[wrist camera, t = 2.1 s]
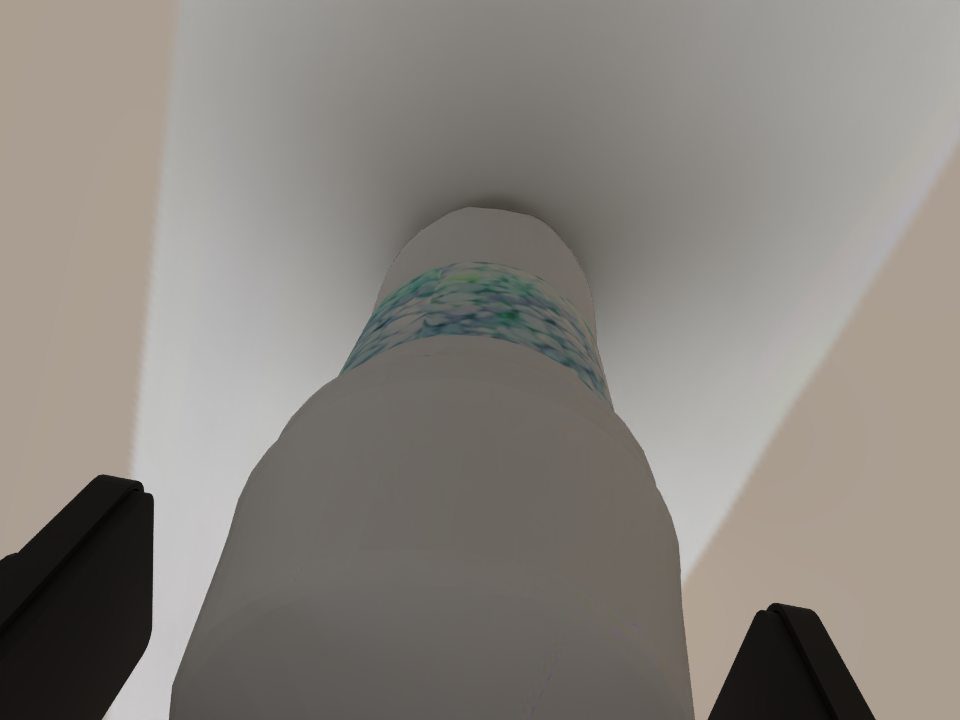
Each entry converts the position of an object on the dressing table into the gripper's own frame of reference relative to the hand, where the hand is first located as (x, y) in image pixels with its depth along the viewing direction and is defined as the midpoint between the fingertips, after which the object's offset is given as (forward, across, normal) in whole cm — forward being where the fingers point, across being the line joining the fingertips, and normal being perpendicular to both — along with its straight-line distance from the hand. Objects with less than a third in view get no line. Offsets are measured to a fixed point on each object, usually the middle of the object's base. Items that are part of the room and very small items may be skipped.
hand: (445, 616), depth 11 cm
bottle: (+14, 0, -1) cm, 14 cm away
